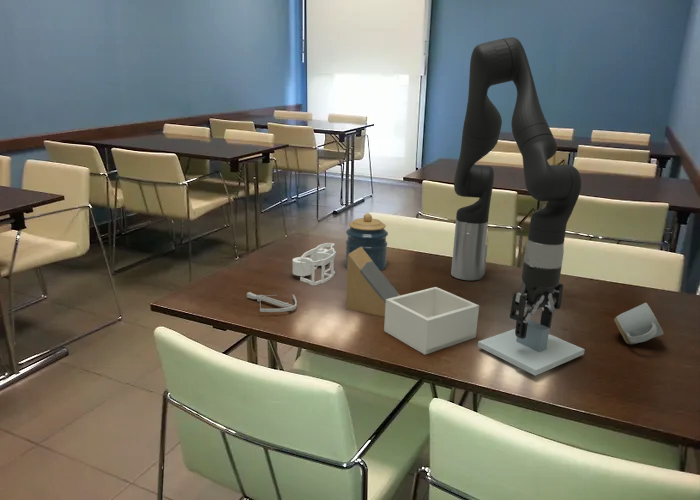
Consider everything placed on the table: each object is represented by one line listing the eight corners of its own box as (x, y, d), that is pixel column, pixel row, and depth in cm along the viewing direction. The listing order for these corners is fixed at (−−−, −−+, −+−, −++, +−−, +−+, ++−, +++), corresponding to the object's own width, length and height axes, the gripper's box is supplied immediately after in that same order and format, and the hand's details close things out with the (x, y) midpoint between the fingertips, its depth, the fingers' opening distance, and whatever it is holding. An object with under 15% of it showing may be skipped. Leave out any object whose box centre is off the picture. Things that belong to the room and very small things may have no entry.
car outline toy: (317, 262, 176) (318, 240, 174) (348, 267, 172) (349, 245, 170) (285, 281, 159) (285, 257, 157) (319, 287, 155) (320, 263, 152)
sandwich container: (402, 321, 134) (405, 263, 130) (345, 309, 140) (347, 253, 136) (412, 309, 142) (416, 254, 137) (358, 298, 148) (360, 245, 143)
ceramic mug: (626, 345, 128) (611, 315, 130) (663, 333, 125) (647, 302, 127) (627, 347, 119) (611, 314, 121) (666, 334, 116) (649, 300, 118)
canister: (387, 275, 165) (390, 219, 160) (344, 274, 165) (346, 217, 160) (385, 262, 178) (387, 210, 173) (345, 261, 178) (347, 208, 173)
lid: (525, 333, 130) (529, 305, 128) (583, 359, 118) (588, 328, 116) (477, 351, 120) (480, 320, 118) (534, 380, 109) (539, 347, 107)
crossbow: (309, 305, 143) (309, 297, 142) (276, 320, 133) (276, 312, 132) (264, 291, 152) (264, 284, 151) (230, 304, 142) (230, 297, 141)
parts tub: (433, 316, 137) (435, 286, 135) (475, 337, 126) (479, 305, 124) (384, 330, 128) (385, 299, 126) (425, 354, 117) (427, 320, 115)
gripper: (548, 251, 120) (538, 319, 125) (506, 261, 112) (497, 333, 117) (578, 261, 114) (567, 331, 119) (536, 272, 106) (526, 347, 111)
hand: (532, 332), depth 118 cm, fingers open, 8 cm apart
